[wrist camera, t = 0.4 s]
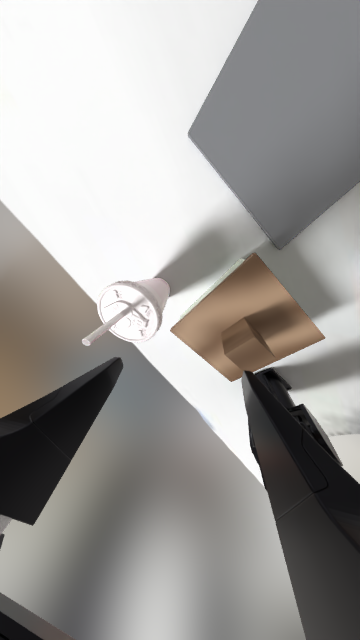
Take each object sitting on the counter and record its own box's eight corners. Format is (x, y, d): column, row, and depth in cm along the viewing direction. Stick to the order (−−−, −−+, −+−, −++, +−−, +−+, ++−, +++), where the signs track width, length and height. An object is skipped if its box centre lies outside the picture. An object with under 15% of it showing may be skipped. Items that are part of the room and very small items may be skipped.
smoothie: (143, 261, 19) (37, 282, 7) (184, 277, 19) (147, 324, 7) (137, 300, 22) (56, 360, 10) (171, 313, 23) (132, 388, 10)
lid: (320, 334, 16) (361, 364, 12) (230, 377, 22) (236, 408, 17) (253, 252, 13) (275, 254, 9) (171, 327, 19) (161, 350, 15)
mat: (495, 62, 9) (506, 55, 9) (278, 249, 16) (280, 249, 16) (408, -273, 6) (420, -305, 6) (188, 136, 13) (187, 133, 13)
